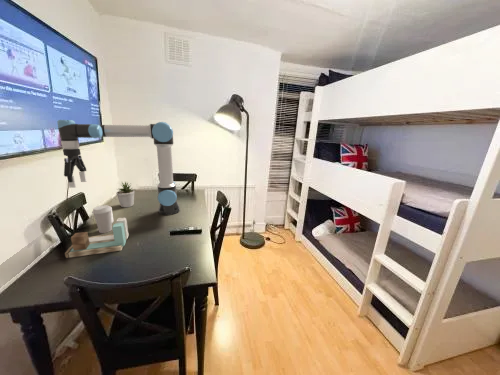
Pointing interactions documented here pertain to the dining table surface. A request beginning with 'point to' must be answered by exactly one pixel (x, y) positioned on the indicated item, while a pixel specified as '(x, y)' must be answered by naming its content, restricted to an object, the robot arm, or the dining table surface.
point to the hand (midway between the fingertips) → (78, 184)
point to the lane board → (93, 251)
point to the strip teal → (118, 237)
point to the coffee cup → (103, 218)
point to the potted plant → (126, 196)
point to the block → (80, 241)
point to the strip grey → (111, 237)
